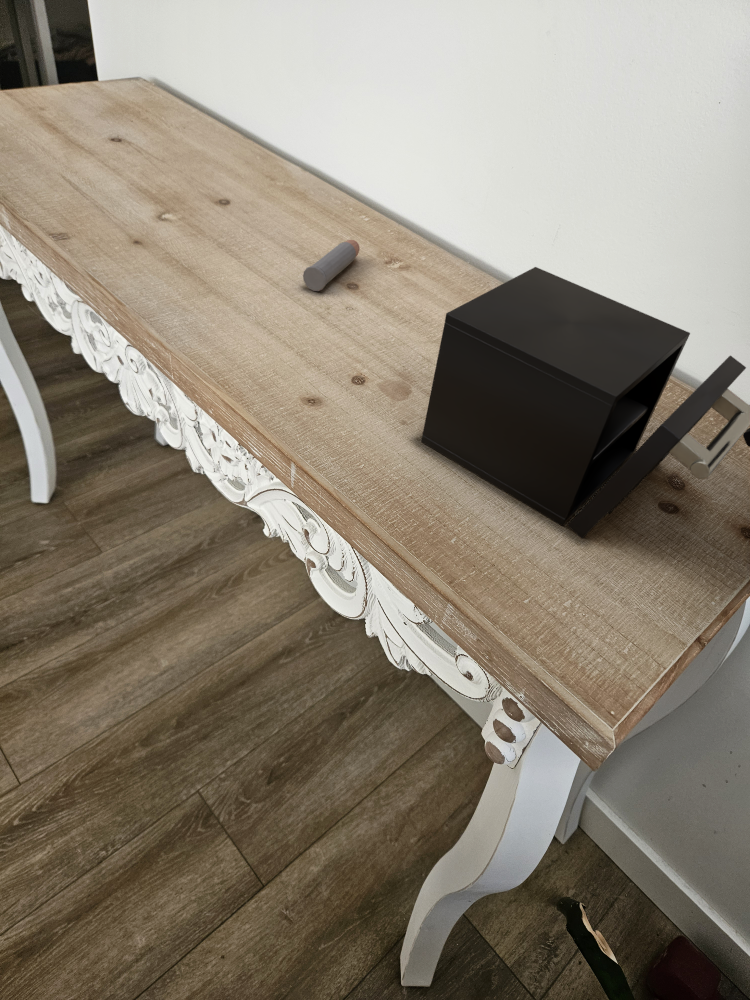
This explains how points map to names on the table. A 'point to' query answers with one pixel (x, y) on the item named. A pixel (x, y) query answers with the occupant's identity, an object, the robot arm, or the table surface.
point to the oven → (547, 388)
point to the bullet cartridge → (330, 265)
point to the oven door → (677, 443)
